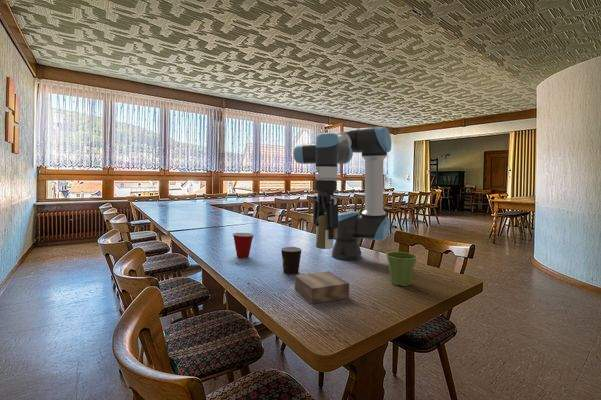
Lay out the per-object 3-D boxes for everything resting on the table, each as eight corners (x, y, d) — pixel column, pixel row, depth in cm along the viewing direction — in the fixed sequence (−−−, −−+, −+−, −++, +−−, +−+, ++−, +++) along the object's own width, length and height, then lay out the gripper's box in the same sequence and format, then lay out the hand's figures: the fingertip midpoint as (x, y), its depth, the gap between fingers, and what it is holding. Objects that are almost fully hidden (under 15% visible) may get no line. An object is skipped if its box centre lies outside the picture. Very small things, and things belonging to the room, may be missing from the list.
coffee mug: (298, 276, 126) (299, 252, 125) (278, 274, 128) (278, 250, 127) (304, 268, 137) (304, 246, 137) (285, 266, 139) (285, 244, 138)
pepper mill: (314, 245, 109) (315, 214, 108) (331, 244, 110) (332, 214, 109) (317, 249, 103) (317, 216, 102) (334, 248, 104) (335, 216, 103)
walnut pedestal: (328, 284, 117) (328, 271, 117) (348, 297, 104) (349, 283, 104) (294, 288, 112) (295, 275, 111) (311, 303, 99) (312, 288, 98)
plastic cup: (258, 256, 156) (258, 232, 155) (243, 260, 147) (244, 236, 146) (242, 253, 162) (242, 230, 161) (227, 257, 153) (227, 233, 152)
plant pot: (421, 283, 120) (423, 255, 119) (407, 291, 112) (409, 260, 111) (393, 276, 128) (395, 249, 128) (378, 282, 120) (380, 254, 119)
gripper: (304, 178, 112) (302, 241, 114) (330, 179, 95) (328, 253, 96) (322, 179, 115) (320, 240, 117) (351, 180, 98) (348, 251, 100)
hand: (324, 246), depth 107 cm, fingers closed on pepper mill, 6 cm apart
